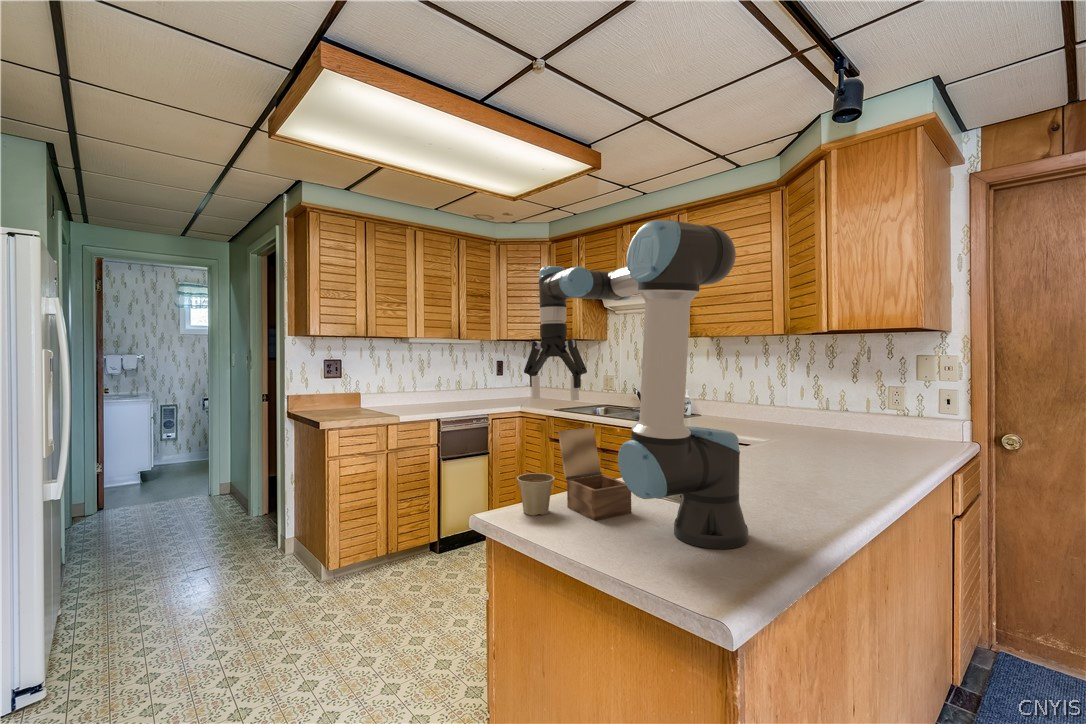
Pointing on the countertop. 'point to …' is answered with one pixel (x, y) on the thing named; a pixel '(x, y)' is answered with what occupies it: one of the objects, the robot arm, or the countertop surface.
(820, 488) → the countertop surface
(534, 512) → the flower pot
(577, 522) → the countertop surface
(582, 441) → the lid
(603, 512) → the box
